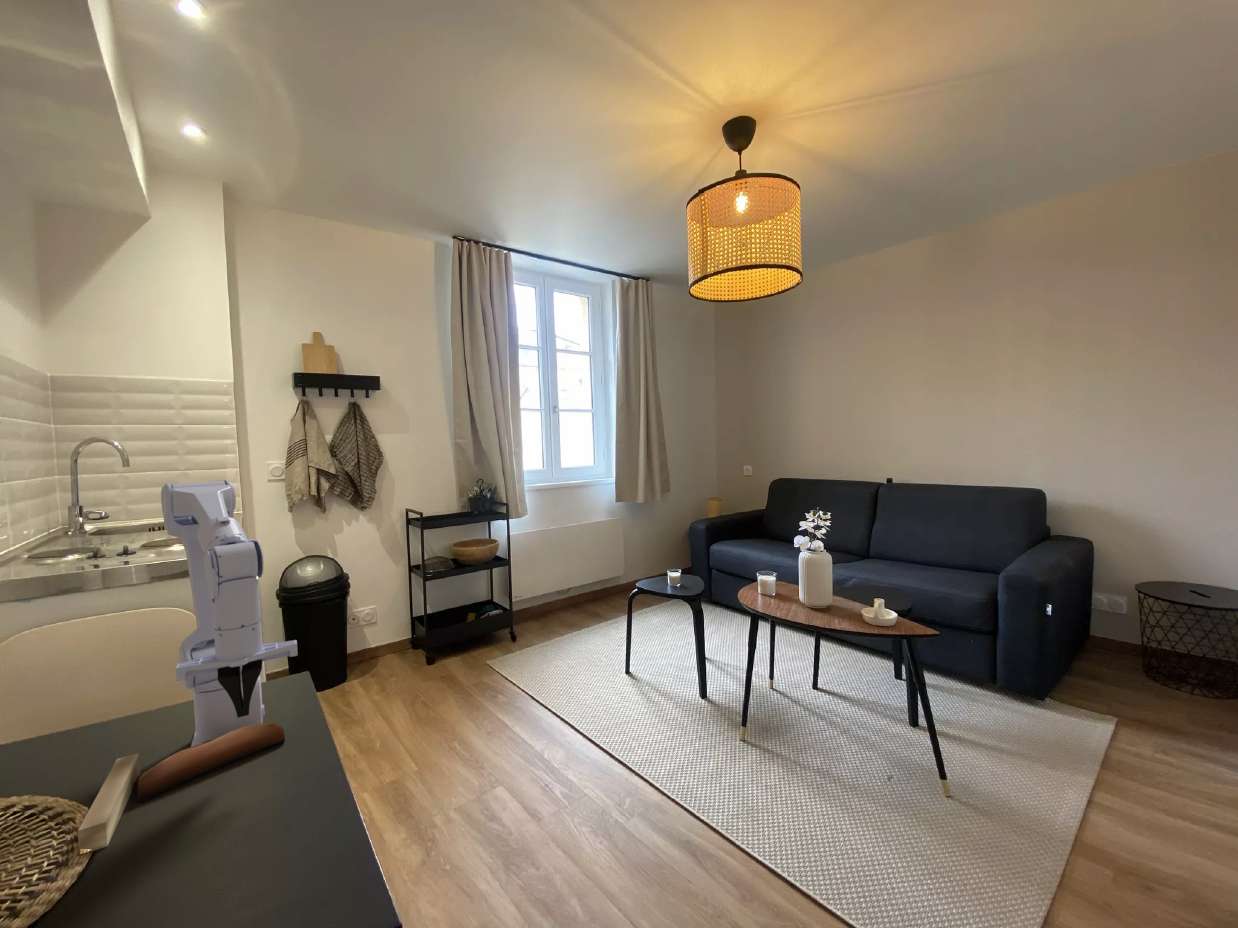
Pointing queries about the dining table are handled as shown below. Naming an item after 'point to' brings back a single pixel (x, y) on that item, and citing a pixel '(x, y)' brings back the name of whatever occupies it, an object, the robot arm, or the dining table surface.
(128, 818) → the dining table surface
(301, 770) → the dining table surface
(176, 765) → the sunglasses case
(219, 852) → the dining table surface
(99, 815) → the bar
